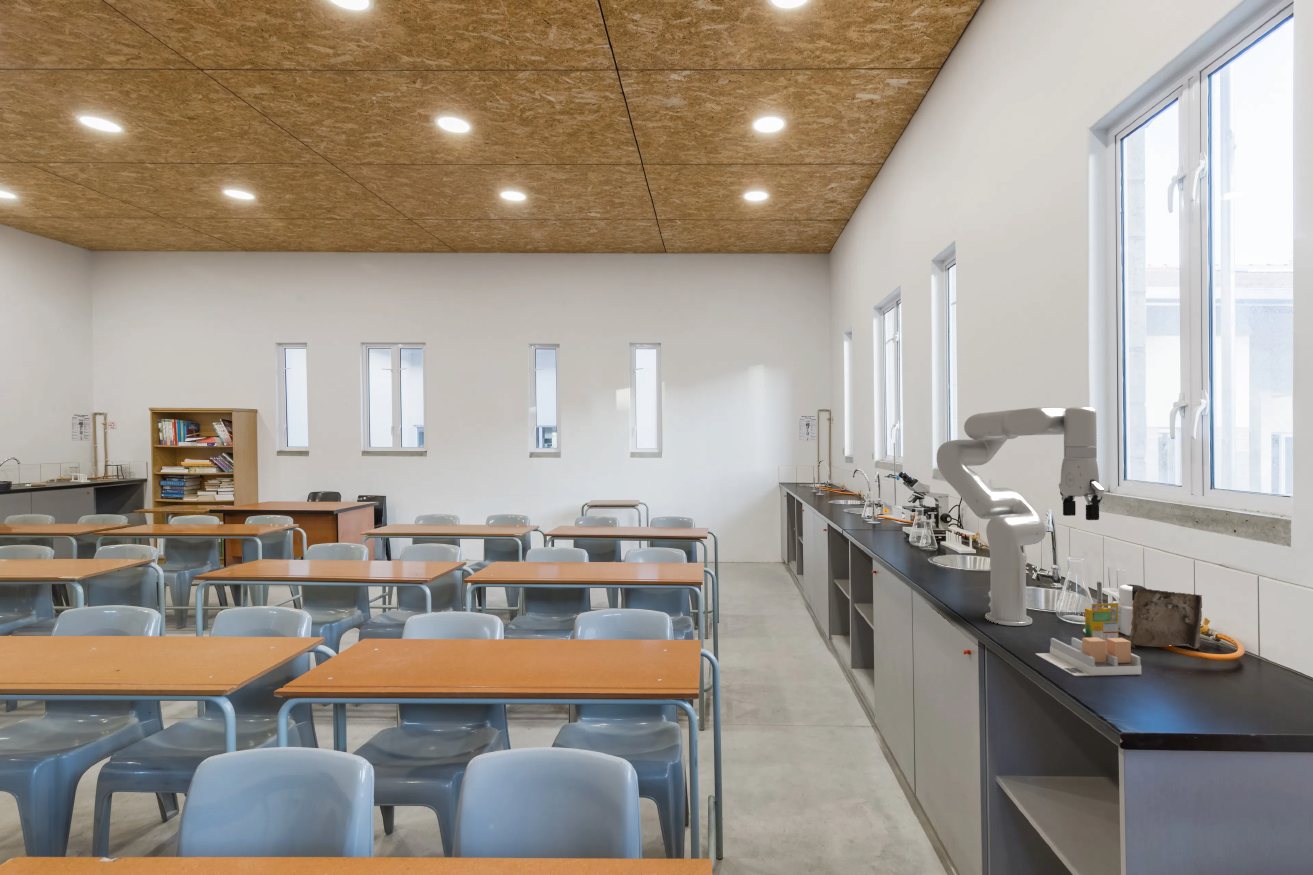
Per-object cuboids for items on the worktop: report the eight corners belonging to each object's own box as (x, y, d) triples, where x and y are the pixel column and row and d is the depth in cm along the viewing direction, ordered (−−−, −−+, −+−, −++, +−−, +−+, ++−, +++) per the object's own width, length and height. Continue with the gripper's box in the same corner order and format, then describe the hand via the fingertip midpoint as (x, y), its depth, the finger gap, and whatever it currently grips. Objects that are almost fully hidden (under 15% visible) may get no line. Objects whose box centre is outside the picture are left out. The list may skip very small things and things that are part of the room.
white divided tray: (1035, 654, 180) (1035, 638, 180) (1096, 652, 180) (1096, 637, 180) (1074, 675, 164) (1074, 658, 164) (1141, 674, 164) (1141, 657, 164)
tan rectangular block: (1082, 658, 169) (1081, 637, 169) (1097, 657, 169) (1097, 637, 169) (1090, 662, 166) (1090, 641, 166) (1106, 661, 166) (1105, 640, 166)
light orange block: (1106, 658, 168) (1106, 638, 168) (1122, 658, 169) (1121, 637, 169) (1115, 662, 165) (1114, 641, 165) (1130, 662, 166) (1130, 641, 166)
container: (1140, 628, 201) (1139, 582, 201) (1156, 636, 194) (1156, 588, 194) (1111, 628, 202) (1110, 582, 202) (1126, 635, 194) (1126, 588, 194)
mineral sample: (1132, 648, 183) (1132, 590, 183) (1124, 644, 187) (1124, 586, 187) (1204, 651, 181) (1204, 591, 181) (1195, 646, 185) (1194, 588, 185)
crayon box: (1111, 644, 187) (1111, 600, 187) (1119, 647, 184) (1119, 603, 184) (1084, 644, 187) (1084, 600, 187) (1092, 648, 184) (1091, 603, 184)
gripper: (1047, 452, 197) (1047, 514, 197) (1087, 454, 180) (1087, 522, 180) (1073, 452, 198) (1074, 513, 198) (1116, 454, 180) (1116, 521, 180)
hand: (1080, 517), depth 189 cm, fingers open, 9 cm apart
